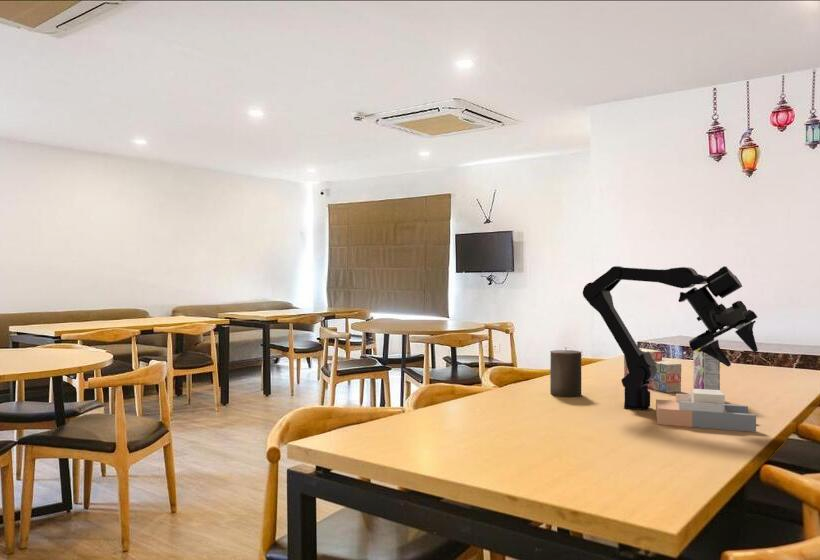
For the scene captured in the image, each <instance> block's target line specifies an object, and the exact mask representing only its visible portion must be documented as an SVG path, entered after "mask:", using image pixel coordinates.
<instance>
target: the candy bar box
mask: <svg viewBox="0 0 820 560" xmlns="http://www.w3.org/2000/svg"><path fill="white" fill-rule="evenodd" d="M698 350H700V348H699V349H697V350H695V351H693V350H692V355H693V359H692V360H693V361H692V362H693V366H692V367H693V389H708V390H721V387H720V385H721V383H720V380H721V378H720V376H721V374H720V373H721V372H720V371H721V368H720V366H721V365H720V363H721V362H720V361H718V360H717V359H715V358H713V357H712V356H710V355H708V354H706V353H704V352H702V351H701V352H698Z"/></svg>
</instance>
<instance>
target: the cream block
mask: <svg viewBox="0 0 820 560" xmlns="http://www.w3.org/2000/svg"><path fill="white" fill-rule="evenodd" d="M690 394H691V402H702V403H717V404H723V405H724V411H725V404H726V403H725V402H726V401H725V394H724V393H723V391H722V390H721V389H720V390H708V389H694V388H690Z"/></svg>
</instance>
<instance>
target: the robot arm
mask: <svg viewBox="0 0 820 560" xmlns="http://www.w3.org/2000/svg"><path fill="white" fill-rule="evenodd" d="M623 280H624V281H635V282H647V283H649V282H651V283H660V284H664V285H665V286H670V287H674V288H679V289H689V288H691V289H689V290H688V291H686V292H684V291H680V292H679V298H678V302H679V303H684V302H685V301H687V302H688V303H689V305H691V308H692V309H693V310H694V311H695V313H696V314H697V317H696V320H697V321H698V322H700V321H701V322H702V323H703V324H704V325H705V327H706V328H707V329H706V330H705V332H702V333H701V334H699V335H697V336H695V337H694V338H692V339H691V340H689V347H690V349H691V350H692V352H693V351H695V350H697V349H699V348H700V350H698V352H701V351H702V352H704V353H706V354H708V355H710V356H712V357H713V358H715V359H717V360H718V361H720V363H722V365H724V366H726V367H727V368H728V367H730V366H731V365H732V364H731V362H730V360H729V359H728V357H727V356H726V354H725V353H724V351H723V350H722V349H721V347H720V344H719V340H718V339H717V340H715V338H717V337H719V336H721V335H723V334H725V333H727V332H730V331H731V330H732V329H736V330H735V331H734V332H735V334H736V335H737V336H738V337H739V339H741V340H742V341H743V342H744V343H745V345H746V346H747V347H748V348H749V349H750V350H751V351H752V352H754V353H756V352H758V350H759V349H758V346H757V344H756V343H757V342H756V339H755V336H754V325H755V323H756V320H755V319H757V318H758V315H757V313H756V312H755V311H753V310H751V309H748V308H747V306H746V304H745V303H743V301H742V300H736V301H735V302H732V303H731V306H730V307H726V306H725V305H724V304H723V303H720V304H719V303H718V302H717V300H716V299H715V298H718V297H720V298H721V299H724V298H725V297H727V296H729V295H731V294H733V293H734V292H736V291H738V290H740V289H741V288H742V287H743V285H742V282H741V281H740V279H739V278H738V277H737V276H736V275H735V274H734V273H733V272H732V271H731V270H730V269H729V268H728V266H722V267H720V268H719V269H718V270H717V271H715V272H713V273H712V274H710V275H709V276H707V275H702V274H699V273H698V271H697V270H695V269H694V268H693V267H689V266H688V267H687V266H686V267H685V266H684V267H683V266H681V267H672V268H664V269H655V268H653V269H652V268H637V267H624V266H619V265H615V266H612V267H611V268H610V269H608V270H607V271H606V272H605V273H603V274H602V275H601V276H598V277H597V278H596V279H595V280H594V281H593V282H587V283H586V284H585V285H584V287H583V289H582V295H583V298H584V299H585V301H586V302H587V303H588V304H589V305H590V306H591V307H592V308H593V309H595V310H596V311H597V313H598V314H600V316H601V318H602V319H603V322H604V323H605V324H606V326H607V328H608V329H609V331H610V333H611V334H612V337H614V340H615V342H616V343H617V345H618V347H619V349H620V351H621V352H622V354H623V356H624V355H625V360H626V365H627V368H628V371H629V374H627V375H626V376H625V377H624V376H623V378H621V383H622V387H623V388H624V402H623V408H624V409H628V410H629V409H631V410H632V409H633V410H644V411H645V410H649V408H650V407H651V391H650V390H649V388H648V384H649V382H650V380H651V379H653V378H654V377H655V375H656V373H657V368H656V366H655V365H656V364H657V363H656V362H655V361H654V360H653V359H652V356H651V354H650V352H645V353H643V352H642V351H641V350H640V349H639V348H640V347H639V346H638V344H637V343H636V341H635V340H634V338H633V336H632V335H631V333H630V331H629V329H628V327H626V324H625V323H624V321H623V320H622V318H621V316H620V314H619V313H618V311H617V310H616V308H615V306H614V301H613V296H612V294H611V291H612V290H614V289H615V287H617V285H618V284H619V283H620V282H621V281H623ZM696 285H703V286H701V287H699V288H697V287H695V286H696ZM714 297H715V298H714Z"/></svg>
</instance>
